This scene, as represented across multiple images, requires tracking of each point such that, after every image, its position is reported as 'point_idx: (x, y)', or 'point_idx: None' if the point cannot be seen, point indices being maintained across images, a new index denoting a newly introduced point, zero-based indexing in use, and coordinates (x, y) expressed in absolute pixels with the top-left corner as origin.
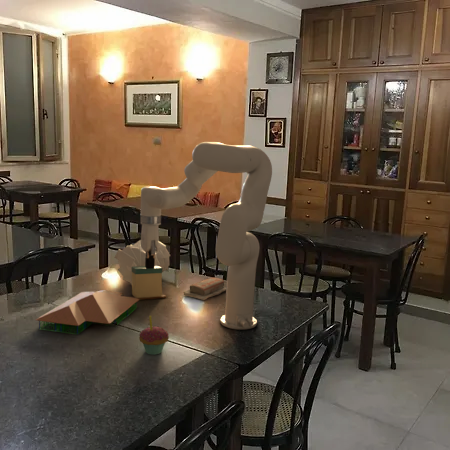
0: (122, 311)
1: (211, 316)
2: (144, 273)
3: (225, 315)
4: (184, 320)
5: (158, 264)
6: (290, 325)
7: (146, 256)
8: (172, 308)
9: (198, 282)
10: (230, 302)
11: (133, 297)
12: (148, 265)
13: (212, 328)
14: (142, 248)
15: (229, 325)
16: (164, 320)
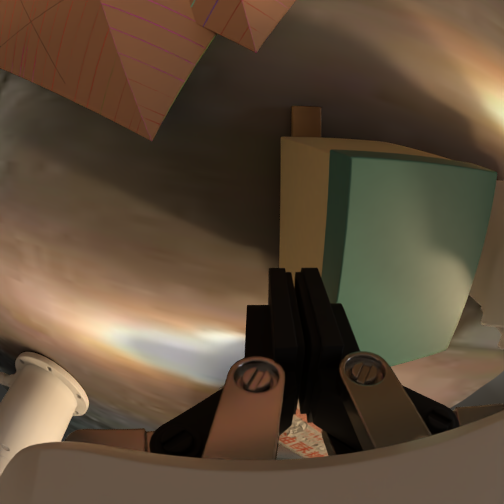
0: (10, 67)
1: (81, 357)
2: (325, 234)
3: (32, 375)
4: (40, 281)
5: (500, 342)
6: (67, 434)
7: (338, 368)
8: (144, 277)
9: (307, 423)
10: (2, 401)
11: (308, 128)
12: (256, 307)
13: (11, 325)
14: (402, 456)
15: (16, 359)
16: (33, 220)
